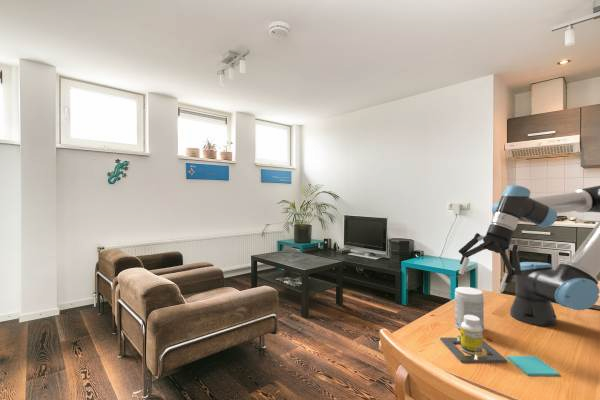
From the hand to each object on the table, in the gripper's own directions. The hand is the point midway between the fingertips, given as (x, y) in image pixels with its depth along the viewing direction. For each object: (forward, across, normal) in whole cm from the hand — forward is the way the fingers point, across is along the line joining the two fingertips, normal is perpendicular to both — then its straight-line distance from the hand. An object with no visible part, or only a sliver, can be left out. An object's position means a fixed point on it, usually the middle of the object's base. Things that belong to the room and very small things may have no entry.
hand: (479, 282), depth 107 cm
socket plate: (+22, +7, -4) cm, 23 cm away
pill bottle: (+22, +7, -4) cm, 23 cm away
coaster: (+17, +21, 0) cm, 27 cm away
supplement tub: (+18, -1, +12) cm, 22 cm away
